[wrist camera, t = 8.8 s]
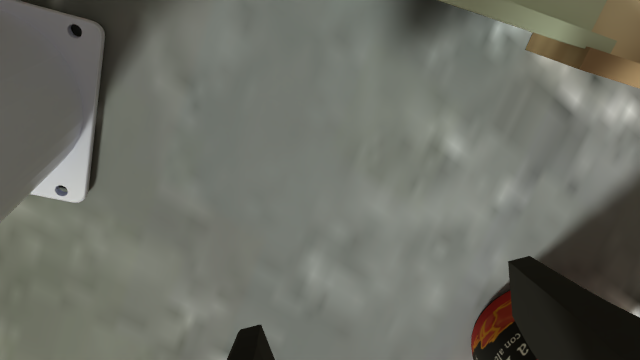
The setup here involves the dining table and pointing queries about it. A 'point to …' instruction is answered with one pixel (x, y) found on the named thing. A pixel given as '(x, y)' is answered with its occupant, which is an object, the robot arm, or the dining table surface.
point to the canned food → (499, 334)
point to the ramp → (547, 18)
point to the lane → (620, 65)
